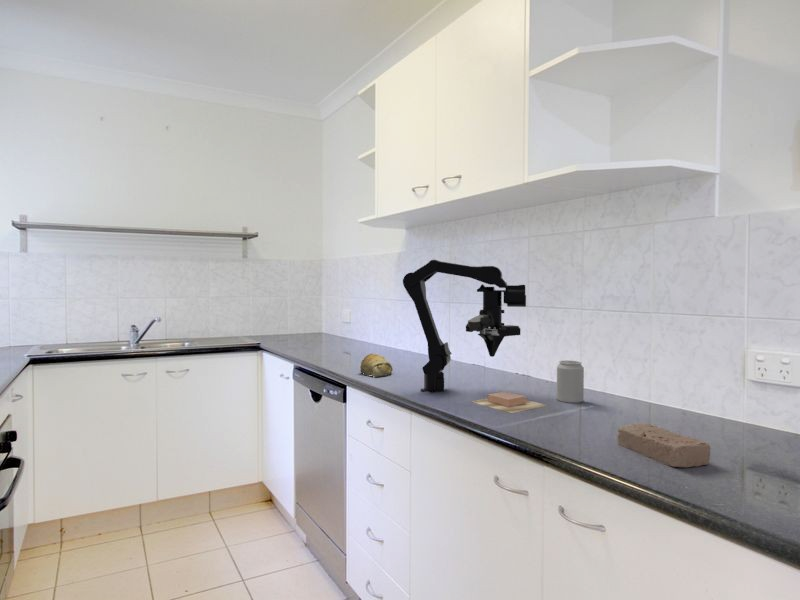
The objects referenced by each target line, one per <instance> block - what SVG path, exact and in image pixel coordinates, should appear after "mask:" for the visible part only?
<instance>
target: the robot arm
mask: <svg viewBox="0 0 800 600" xmlns="http://www.w3.org/2000/svg"><path fill="white" fill-rule="evenodd" d="M437 273H440V274H447V275H451V276H458V277H464V278H470V279H473V280H476V281H479V282H480V283H481V282H482V283H481V285H480V286H479V287H478V289H477V290H476V292H477V293H482V309H480V310H479V315H477V316H476V315H475V316H474V317H472V318H470V319H468V320H467V323H466V324H465V332H468V333H473V332H479V333H478V334H477V336H479V337H481V339H483V340H484V343H485V346H486V349H487V352H488V355H489V357H495V356H496V353H497V352H498V349H499V347H500V344H501V343H502V342H503V339H504V338H505V337H512V336H514V337H515V336H521V328H520V326H519V325H512V324H507V325H505V322H502V319H503V318H502V314H505V309H502V308H503V307H502V303H503V304H506V306H507V307H508V308H509V307H512V308H515V307H516V308H522V307H523V308H527V295H526V285H525V284H518V285H514V284H512V285H510V284H508V283H507V281H505V280H504V278H503V272H502V270H501V269H500V268H499V267H497V266H494V265H483V266H482V265H478V266H472V265H464V264H458V263H452V262H447V261H440V260H437V259H431V260H430V261H428V262H427V263H426V264H424V265H423V266H421V267H420V268H418V269H416V270H415V271H413V272H408V273H407V274H405V275H404V277H403V279H402V285H403V287H404V289H405V290H406V293H407V294H408V295H409V297H410V298H411V300H412V301H413V303H414V306H415V309H416V313H417V315H418V318H419V322H420V324H421V327H422V330H423V333H424V335H425V339H426V342H427V355H428V360H429V361H428V362H426V363H425V365H423V366H422V372H423V374H424V375H423V377H424V381H423V382H424V384H423V385H424V386H423V387H424V388H420V390H419V391H421V392H425V393H426V392H428V393H431V394H432V393H440V392H445V391H446V392H447V391H448V389H445V373H444V372H443V371H444V370H445V368H446V367H447V366H448V365H449V364H450V362H451V358H452V357H451V355H452V354H453V353H452V352H451V351H450V348H449V343H448V342H445V343H444V342H443V341H442V339H441V338H440V334H439V331H438V329H437V326H436V323H435V320H434V317H433V314H432V311H431V309H430V305H429V303H428V302H429V301H428V299H427V288H426V282H427V281H429V280H430V279H431V278H432V277H433V276H434V275H435V274H437ZM483 283H485V284H487V285H494V286H485V285H484V284H483ZM495 286H496V287H498V288H499V289H497V290H495ZM502 294H503V296H502ZM502 298H503V301H502Z"/></svg>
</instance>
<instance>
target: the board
mask: <svg viewBox="0 0 800 600" xmlns="http://www.w3.org/2000/svg"><path fill="white" fill-rule="evenodd" d="M470 403H474V404H477V405H480V406H484V407H487V408H491V409H495V410H499V411H501V412H505V413H510V414H514V413H519V412H523V411H529V410H535V409H540V408H544V407H549V406H550V405H548V404H544V403H541V402H540V403H539V402H538V401H537V402H536V401H532V400H529V399H526V404H522V405H517V406H511V407H506V406H503V405H499V404H495V403H492V402H489V401H488V397H487V398H482V399H477V400H472V401H470Z"/></svg>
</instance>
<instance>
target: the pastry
mask: <svg viewBox="0 0 800 600" xmlns="http://www.w3.org/2000/svg"><path fill="white" fill-rule="evenodd" d="M392 372H393V366H392V364H391V363H390V361H388V360H386V358H385V357H384V356H382V355H380V354H375V353H370V354H367V355H366V356H365V357H364V358H363V359H362V360H361V362H360V373H361V374H362V373H364V374H366V375H365V376H367V375H372V376H375V377H374V378H377V377H383V376H384V377H385V376H388V375H392ZM364 374H363V375H364ZM372 376H371V377H372Z"/></svg>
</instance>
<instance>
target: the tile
mask: <svg viewBox="0 0 800 600" xmlns="http://www.w3.org/2000/svg"><path fill="white" fill-rule="evenodd" d="M487 398H488V401H489V402H492V403H495V404H499V405H503V406H506V407H511V406H517V405H522V404H526V400H527V396H526V395H522V394H517V393H513V392H509V391H500V392H494V393H488V394H487Z"/></svg>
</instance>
